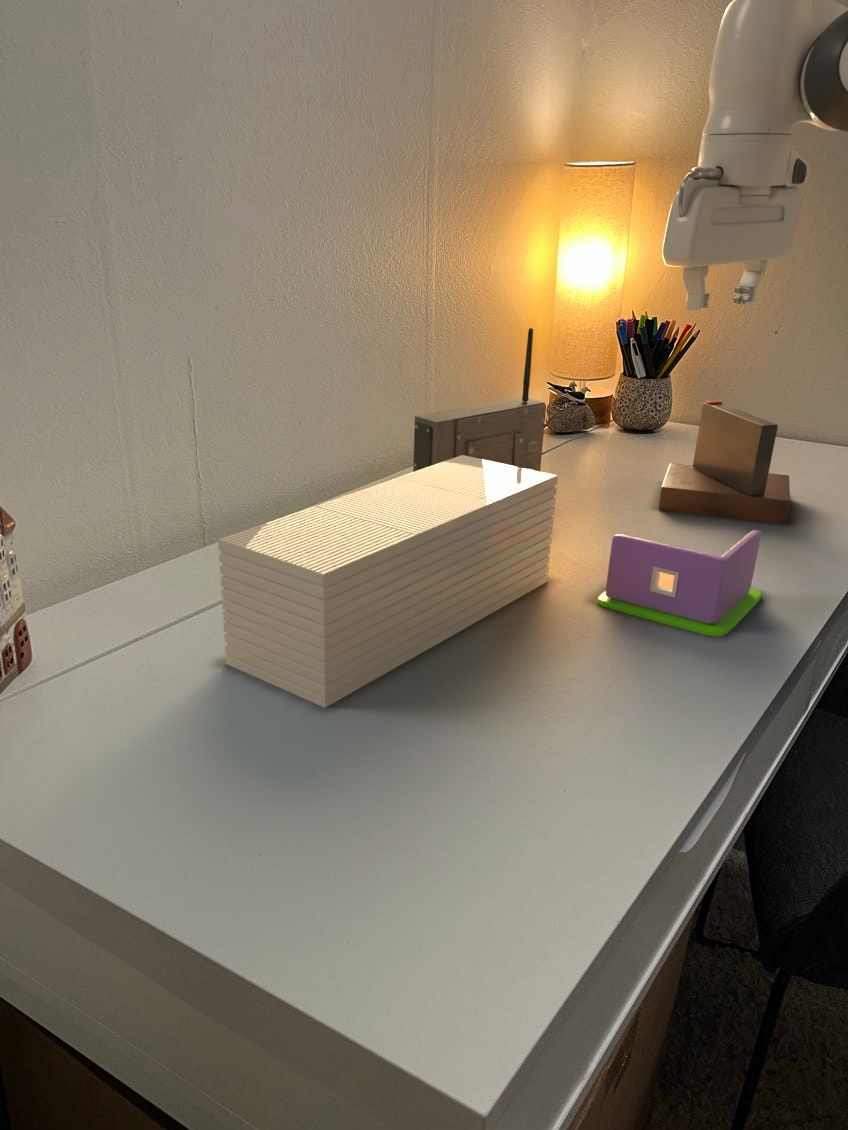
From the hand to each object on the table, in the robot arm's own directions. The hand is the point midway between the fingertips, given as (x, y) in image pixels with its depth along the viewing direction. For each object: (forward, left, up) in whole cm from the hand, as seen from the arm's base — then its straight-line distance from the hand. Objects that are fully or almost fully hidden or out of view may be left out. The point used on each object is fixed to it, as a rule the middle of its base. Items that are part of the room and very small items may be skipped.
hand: (720, 307), depth 106 cm
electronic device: (+12, +22, -23) cm, 34 cm away
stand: (-3, -3, -23) cm, 23 cm away
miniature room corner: (-19, +25, -23) cm, 39 cm away
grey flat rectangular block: (-3, -3, -20) cm, 20 cm away
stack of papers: (-8, +49, -23) cm, 55 cm away
